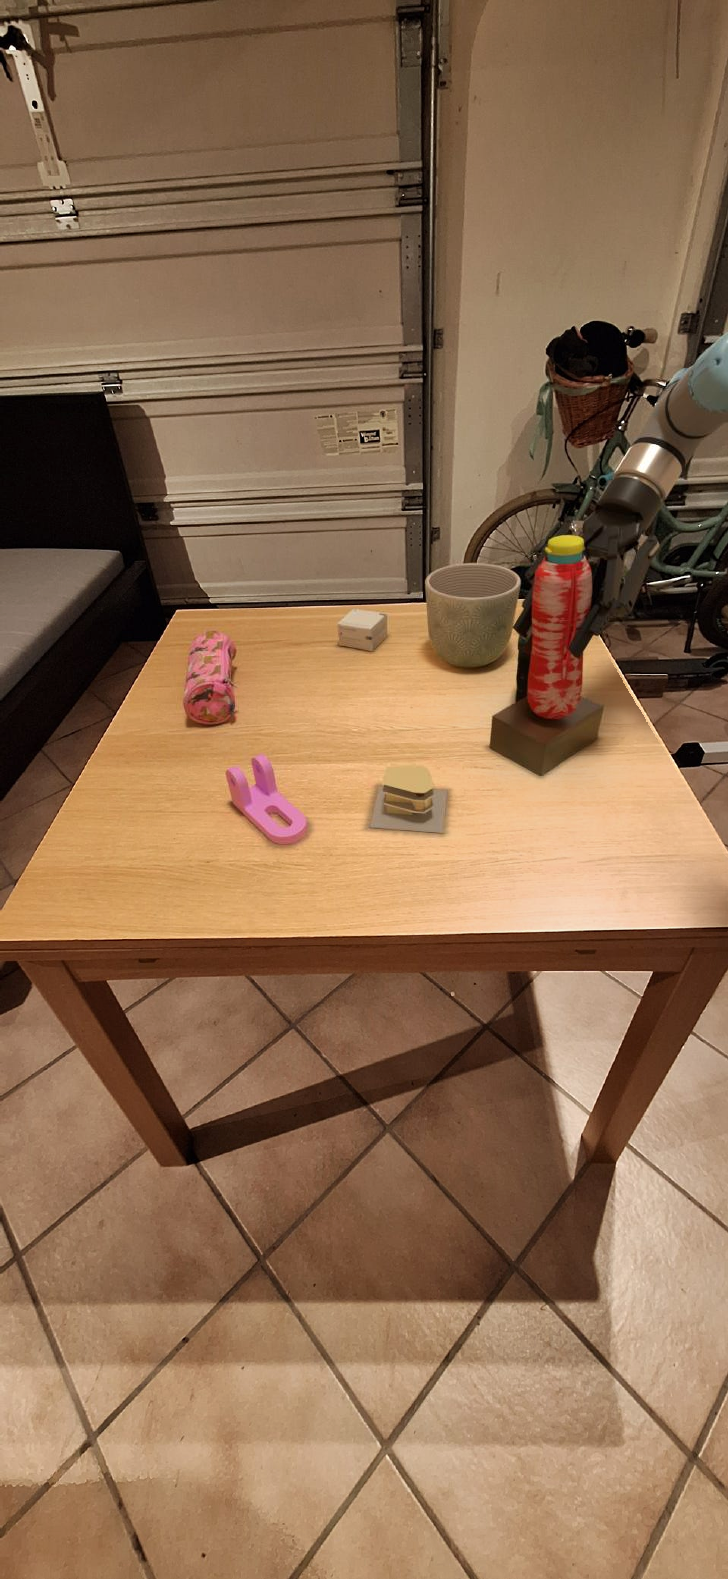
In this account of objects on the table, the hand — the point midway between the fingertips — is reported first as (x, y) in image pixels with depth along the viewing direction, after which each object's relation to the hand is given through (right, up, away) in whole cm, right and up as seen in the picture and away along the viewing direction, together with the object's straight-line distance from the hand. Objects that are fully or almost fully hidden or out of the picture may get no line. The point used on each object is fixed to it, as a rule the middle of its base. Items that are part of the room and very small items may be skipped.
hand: (545, 642), depth 86 cm
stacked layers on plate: (-18, -23, +3) cm, 30 cm away
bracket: (-38, -24, +3) cm, 45 cm away
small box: (-25, +10, +44) cm, 52 cm away
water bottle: (+3, -8, +9) cm, 12 cm away
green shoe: (+6, -3, +25) cm, 26 cm away
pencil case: (-52, -3, +30) cm, 60 cm away
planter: (-4, +6, +37) cm, 37 cm away
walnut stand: (+4, -13, +13) cm, 19 cm away
